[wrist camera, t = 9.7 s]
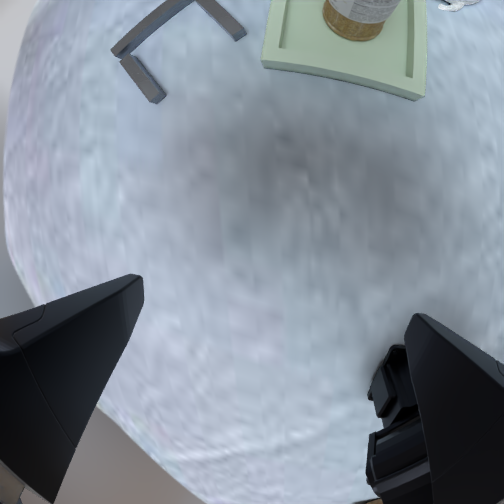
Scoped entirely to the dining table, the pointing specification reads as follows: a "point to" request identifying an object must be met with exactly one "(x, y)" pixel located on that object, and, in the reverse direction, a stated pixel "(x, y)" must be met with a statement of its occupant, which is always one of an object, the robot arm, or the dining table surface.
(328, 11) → the sprinkles bottle
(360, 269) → the dining table surface
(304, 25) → the tray
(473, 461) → the robot arm
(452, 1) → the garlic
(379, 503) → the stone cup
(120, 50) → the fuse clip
